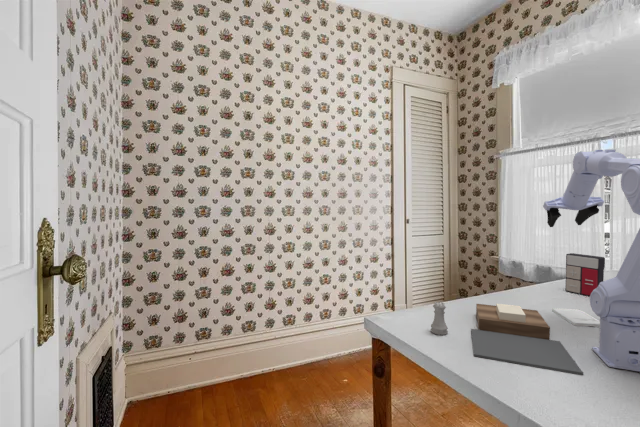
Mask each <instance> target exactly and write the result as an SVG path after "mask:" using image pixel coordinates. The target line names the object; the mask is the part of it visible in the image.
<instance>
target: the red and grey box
mask: <svg viewBox="0 0 640 427" xmlns="http://www.w3.org/2000/svg"><path fill="white" fill-rule="evenodd" d="M565 257H566V259H565V289H564V290H565V291H566V292H569V293H572V294H577V295H581V296H585V297H586V296H587V297H590V295H591V293H592V291H593V290H594V289H596V288H597V287H598V285H599V283H600V282H603V281H604V277H605V276H604V272H605V267H606V258H605V256H595V255H590V254H580V253H573V252H571V253H566V256H565Z"/></svg>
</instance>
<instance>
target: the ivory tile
mask: <svg viewBox="0 0 640 427" xmlns="http://www.w3.org/2000/svg"><path fill="white" fill-rule="evenodd" d="M495 306H496V311H497V314H498V317H499V319H501V320H508V321H516V322H524V323H526V315H525V313H524V312H523V310H522V309H523V308H522V307H521V306H520V305H512V304H505V303H496V304H495Z"/></svg>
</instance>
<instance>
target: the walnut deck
mask: <svg viewBox="0 0 640 427" xmlns="http://www.w3.org/2000/svg"><path fill="white" fill-rule="evenodd" d="M475 307H476V309H475V310H476V311H475V315H476V322H477V325H478V326H477V328H478V330H484V331H491V332H498V333H505V334H512V335H519V336H526V337H533V338H541V339H548V340H551V327H550V326H549V324H548V323H547V322H546V320H545V319H544V317H543V316H542V315H541V314H540V312H539V311H538V310H537V309H536V310H535V309H527V308H522V310H523V312H524V313H525V315H526V323H524V322H516V321H508V320H501V319H499V317H498V314H497V311H496V305H491V304H483V303H482V304H481V303H476V306H475Z"/></svg>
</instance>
